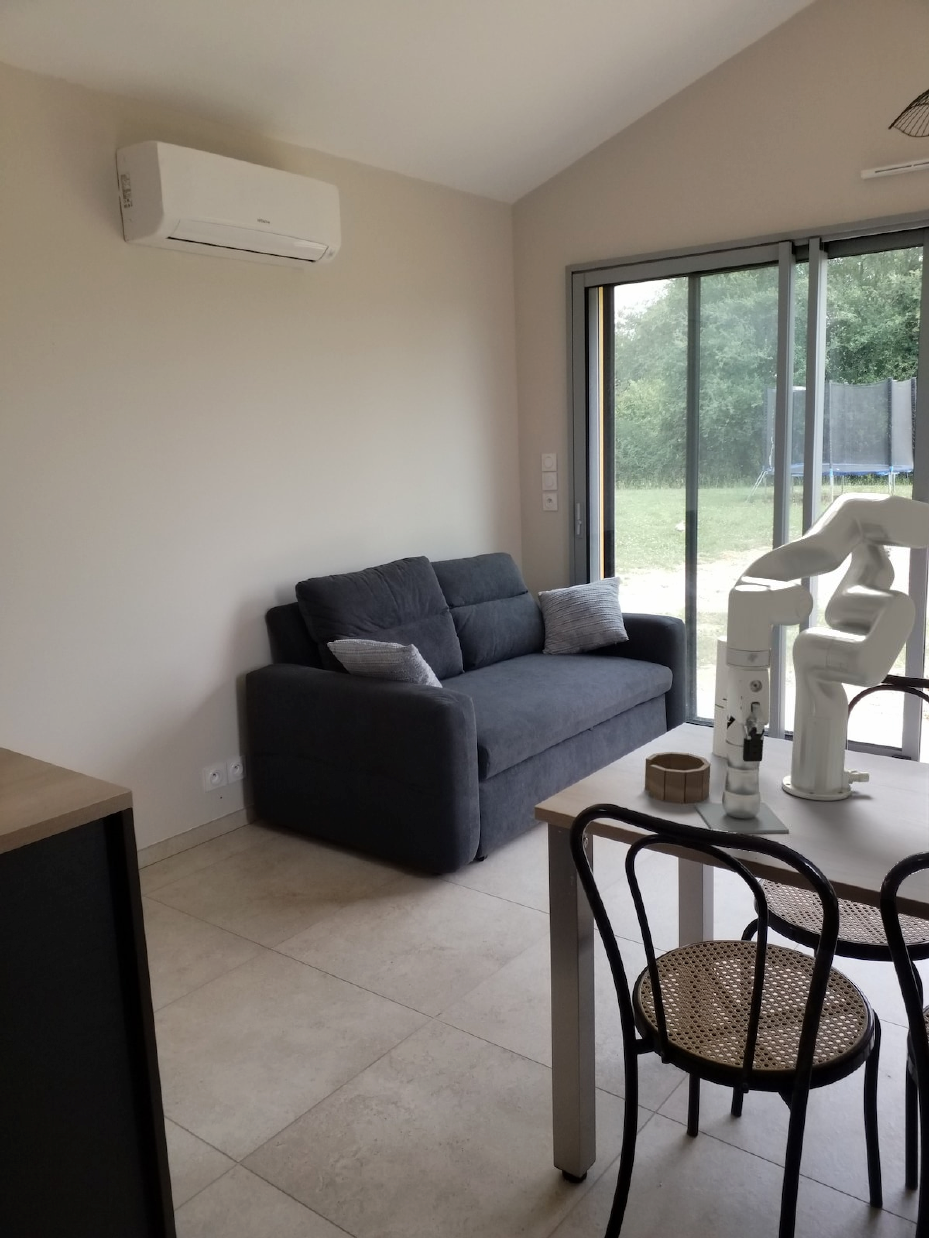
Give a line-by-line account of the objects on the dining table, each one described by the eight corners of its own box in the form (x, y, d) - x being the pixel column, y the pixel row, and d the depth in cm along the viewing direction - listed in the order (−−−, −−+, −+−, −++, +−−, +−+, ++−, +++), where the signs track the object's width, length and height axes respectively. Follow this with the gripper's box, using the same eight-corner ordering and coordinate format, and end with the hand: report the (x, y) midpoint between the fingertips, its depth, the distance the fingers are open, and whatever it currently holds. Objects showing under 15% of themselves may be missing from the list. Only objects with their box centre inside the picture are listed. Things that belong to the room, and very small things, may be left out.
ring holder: (698, 780, 198) (699, 751, 197) (715, 802, 186) (716, 771, 185) (640, 781, 198) (641, 752, 197) (653, 803, 186) (654, 772, 185)
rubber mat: (764, 804, 185) (764, 802, 185) (788, 832, 172) (789, 829, 172) (694, 805, 185) (694, 803, 185) (713, 833, 172) (713, 830, 172)
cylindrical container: (740, 760, 210) (746, 643, 206) (707, 754, 214) (712, 640, 210) (751, 751, 216) (757, 638, 212) (719, 746, 220) (724, 634, 215)
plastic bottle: (761, 824, 175) (768, 713, 171) (721, 821, 176) (727, 711, 172) (758, 810, 181) (765, 703, 177) (720, 807, 182) (725, 701, 178)
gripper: (787, 668, 165) (781, 767, 168) (754, 646, 182) (749, 737, 185) (741, 669, 164) (737, 768, 168) (712, 646, 181) (709, 737, 185)
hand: (743, 751), depth 176 cm, fingers open, 9 cm apart
